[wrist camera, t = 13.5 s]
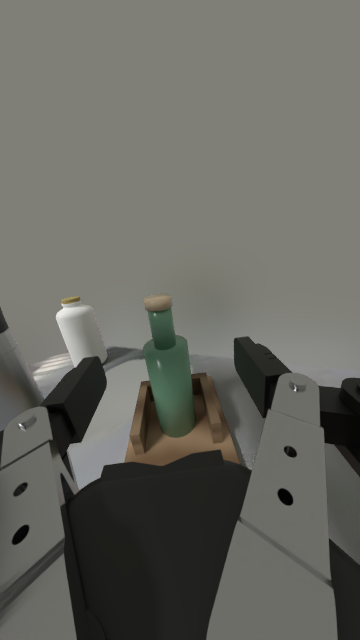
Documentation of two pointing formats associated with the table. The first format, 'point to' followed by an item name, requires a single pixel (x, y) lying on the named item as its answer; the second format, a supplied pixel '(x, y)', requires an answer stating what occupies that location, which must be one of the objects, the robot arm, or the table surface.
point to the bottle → (169, 369)
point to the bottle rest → (205, 436)
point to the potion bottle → (80, 330)
